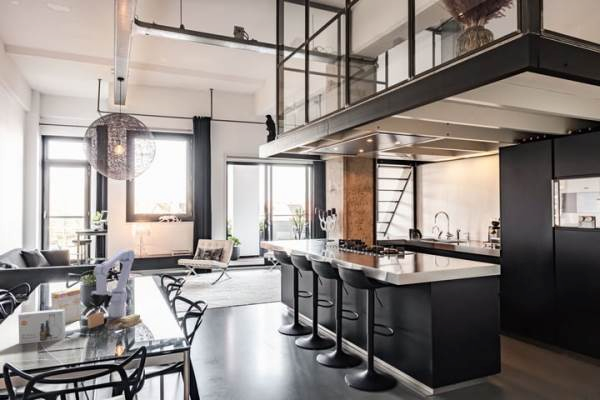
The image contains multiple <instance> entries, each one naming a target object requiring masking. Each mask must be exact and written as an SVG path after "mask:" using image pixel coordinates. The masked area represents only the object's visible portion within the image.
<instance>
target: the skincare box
mask: <svg viewBox="0 0 600 400" xmlns="http://www.w3.org/2000/svg"><path fill="white" fill-rule="evenodd" d="M65 338H66V324H65V309H58V310H52V309H47V310H36V311H35V310H34V311H24V312H20V313H18V344H19V345H22V344H23V345H24V344H34V343H44V342H53V341H63V340H64V339H65Z"/></svg>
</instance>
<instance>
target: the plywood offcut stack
mask: <svg viewBox="0 0 600 400" xmlns="http://www.w3.org/2000/svg"><path fill="white" fill-rule="evenodd" d="M119 318H120V321H121V323H119V326H123V327H122V328H131V327H130V326H132V325H134V326H136V325H135V324H137V323H139V324H141V323H140V322H142V323H143V320H142V319H140V318H141V315H140V314H134V313H133V314H129V315H126V316H124V317H123V316H122V317H119ZM137 325H138V324H137ZM132 327H133V326H132Z"/></svg>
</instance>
